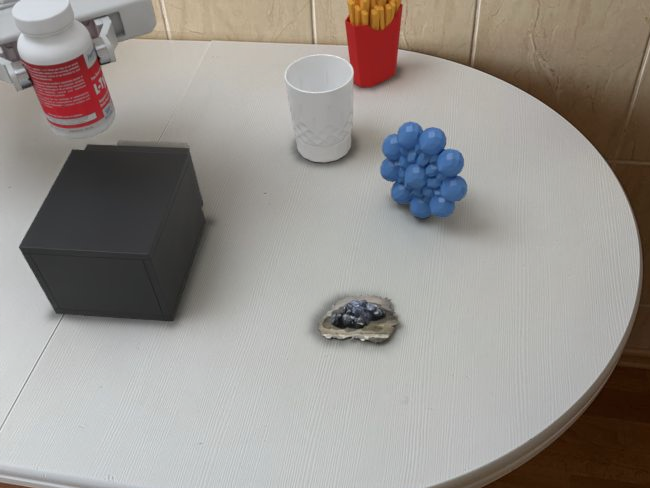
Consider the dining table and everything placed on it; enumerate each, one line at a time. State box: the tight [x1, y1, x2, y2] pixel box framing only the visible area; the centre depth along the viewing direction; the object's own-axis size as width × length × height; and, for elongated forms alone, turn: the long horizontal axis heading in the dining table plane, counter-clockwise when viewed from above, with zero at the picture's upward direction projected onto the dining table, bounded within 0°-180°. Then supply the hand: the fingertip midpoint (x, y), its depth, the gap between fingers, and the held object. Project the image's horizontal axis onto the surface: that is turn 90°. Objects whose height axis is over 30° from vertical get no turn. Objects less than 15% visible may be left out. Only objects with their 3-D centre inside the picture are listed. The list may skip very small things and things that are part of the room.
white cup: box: [283, 53, 354, 163], centre depth 84 cm, size 8×8×10 cm
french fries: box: [344, 0, 404, 88], centre depth 92 cm, size 8×4×12 cm, turn 128°
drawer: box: [84, 139, 204, 207], centre depth 76 cm, size 18×11×8 cm, turn 173°
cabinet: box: [18, 148, 207, 322], centre depth 73 cm, size 15×13×10 cm
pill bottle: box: [12, 0, 116, 140], centre depth 62 cm, size 6×6×11 cm
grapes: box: [379, 121, 468, 219], centre depth 75 cm, size 12×7×12 cm, turn 43°
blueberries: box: [317, 294, 400, 344], centre depth 69 cm, size 7×8×2 cm
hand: (64, 69), depth 61 cm, fingers closed on pill bottle, 6 cm apart
